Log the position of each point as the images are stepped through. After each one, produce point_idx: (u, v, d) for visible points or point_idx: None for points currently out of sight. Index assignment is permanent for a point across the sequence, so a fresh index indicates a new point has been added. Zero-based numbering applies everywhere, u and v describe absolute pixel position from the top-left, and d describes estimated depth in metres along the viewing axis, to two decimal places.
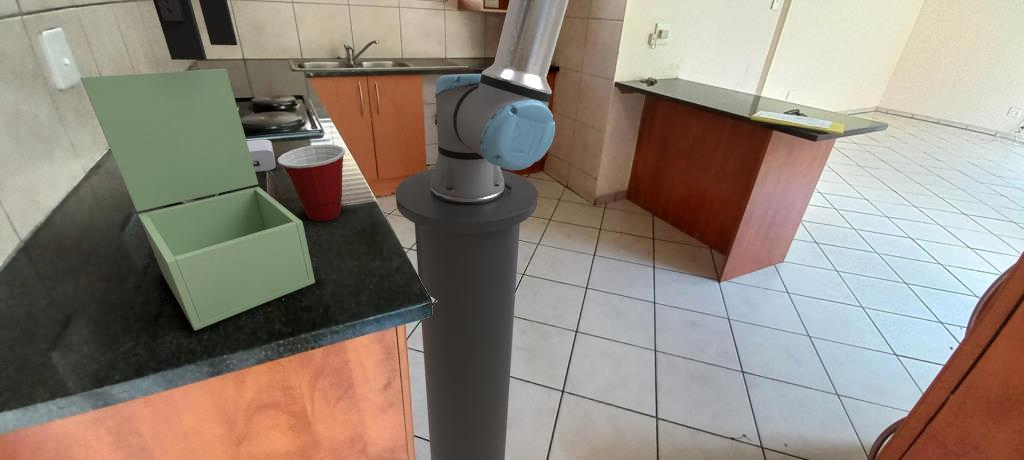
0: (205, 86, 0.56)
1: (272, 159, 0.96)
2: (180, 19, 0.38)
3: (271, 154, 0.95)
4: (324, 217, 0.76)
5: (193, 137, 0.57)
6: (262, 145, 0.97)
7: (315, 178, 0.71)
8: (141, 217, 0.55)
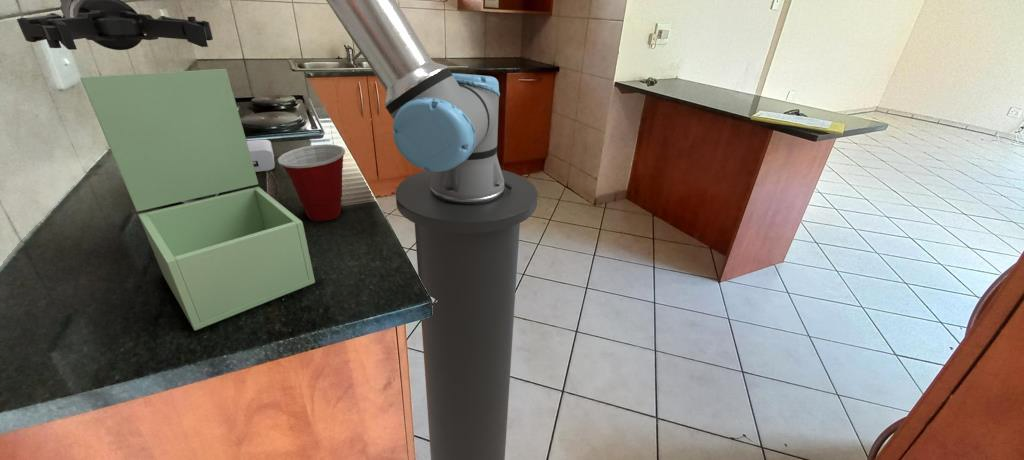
0: (205, 86, 0.56)
1: (271, 159, 0.96)
2: (45, 28, 0.51)
3: (270, 154, 0.95)
4: (324, 217, 0.76)
5: (193, 137, 0.57)
6: (261, 145, 0.97)
7: (315, 178, 0.71)
8: (141, 217, 0.55)
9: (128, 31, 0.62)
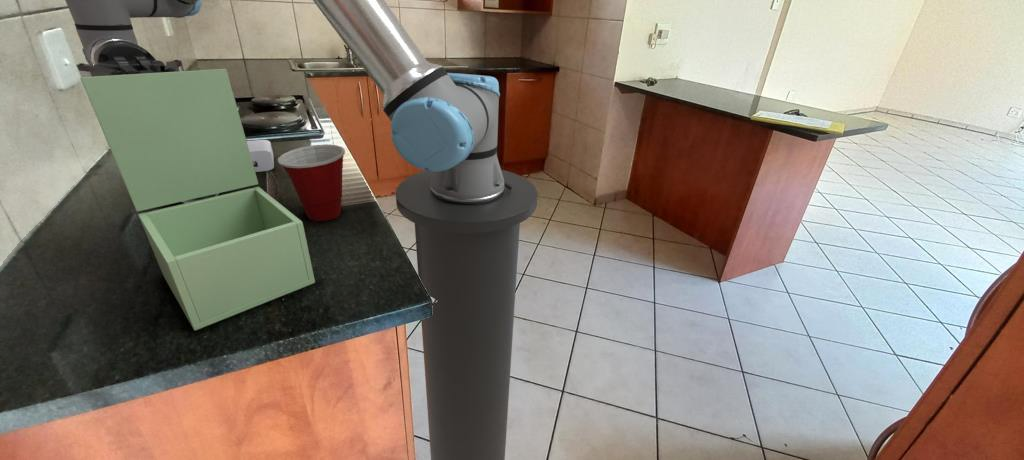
0: (205, 86, 0.56)
1: (270, 160, 0.96)
2: None
3: (269, 155, 0.95)
4: (324, 217, 0.76)
5: (193, 137, 0.57)
6: (260, 146, 0.97)
7: (315, 178, 0.71)
8: (141, 217, 0.55)
9: None
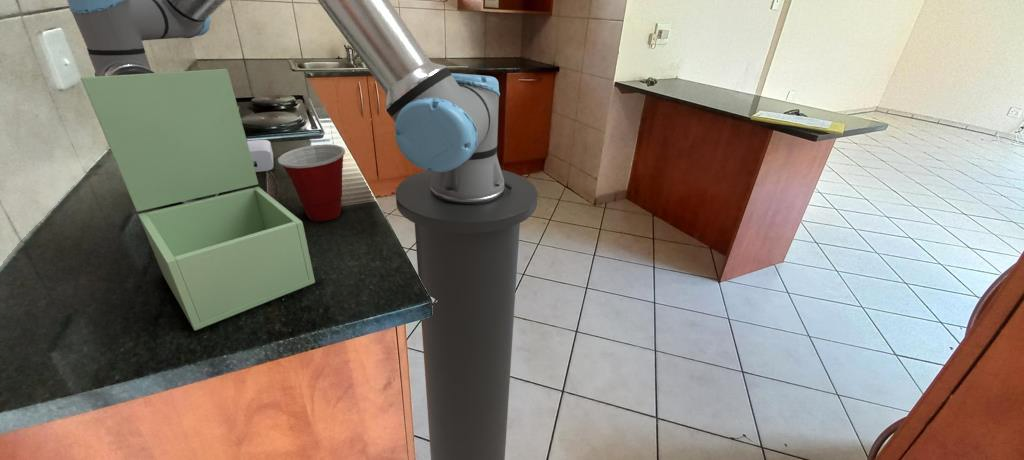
0: (206, 86, 0.56)
1: (270, 160, 0.96)
2: None
3: (269, 155, 0.95)
4: (324, 217, 0.76)
5: (194, 137, 0.57)
6: (260, 146, 0.97)
7: (315, 178, 0.71)
8: (141, 217, 0.55)
9: None
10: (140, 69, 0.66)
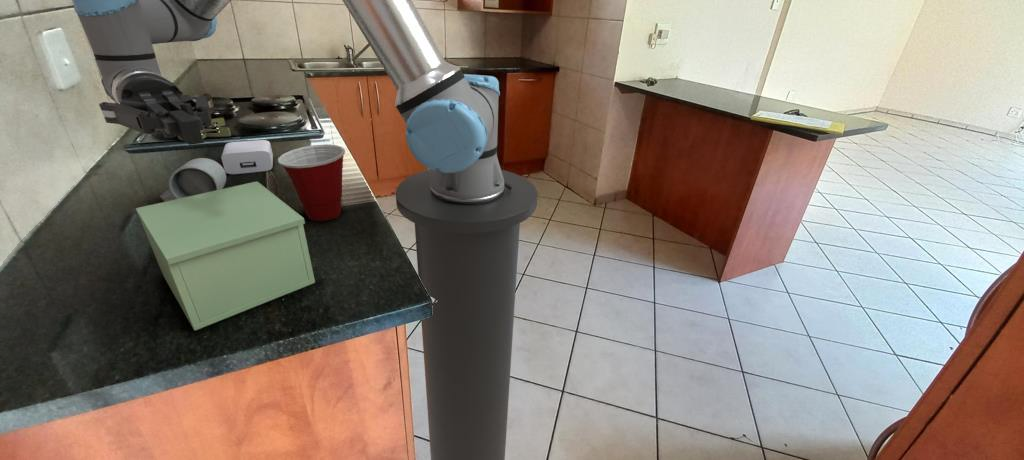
0: None
1: (269, 160, 0.96)
2: (166, 123, 0.51)
3: (268, 155, 0.95)
4: (324, 217, 0.76)
5: None
6: (259, 146, 0.97)
7: (315, 178, 0.71)
8: None
9: None
10: (152, 76, 0.61)
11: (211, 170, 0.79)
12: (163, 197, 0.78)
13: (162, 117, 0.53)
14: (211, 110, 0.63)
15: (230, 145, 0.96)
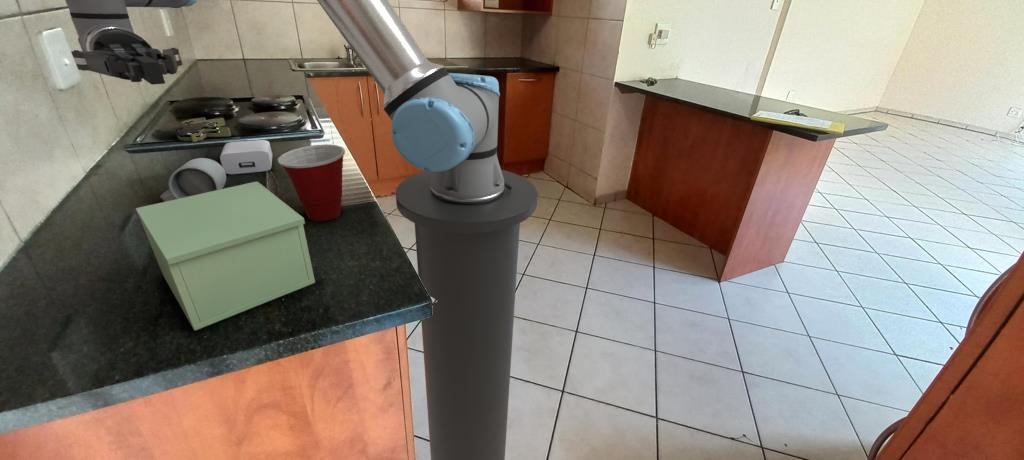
0: None
1: (268, 160, 0.95)
2: (130, 65, 0.56)
3: (267, 155, 0.95)
4: (324, 217, 0.76)
5: None
6: (258, 146, 0.96)
7: (315, 178, 0.71)
8: None
9: None
10: (122, 30, 0.66)
11: (211, 170, 0.79)
12: (163, 197, 0.78)
13: (128, 61, 0.58)
14: (178, 63, 0.68)
15: (229, 145, 0.96)
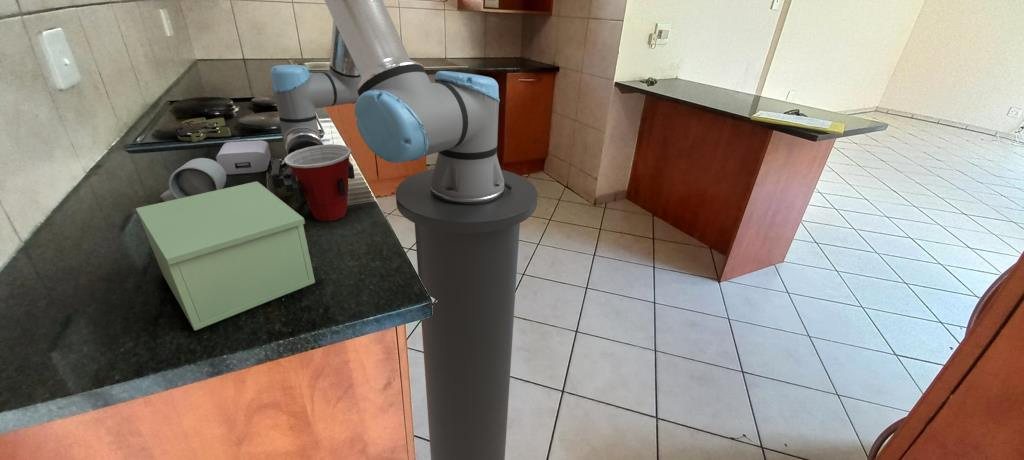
0: None
1: (264, 161, 0.95)
2: (285, 185, 0.72)
3: (263, 156, 0.94)
4: (330, 217, 0.76)
5: None
6: (255, 146, 0.96)
7: (322, 178, 0.71)
8: None
9: None
10: (308, 139, 0.85)
11: (211, 170, 0.79)
12: (163, 197, 0.78)
13: (285, 178, 0.74)
14: None
15: (227, 145, 0.96)
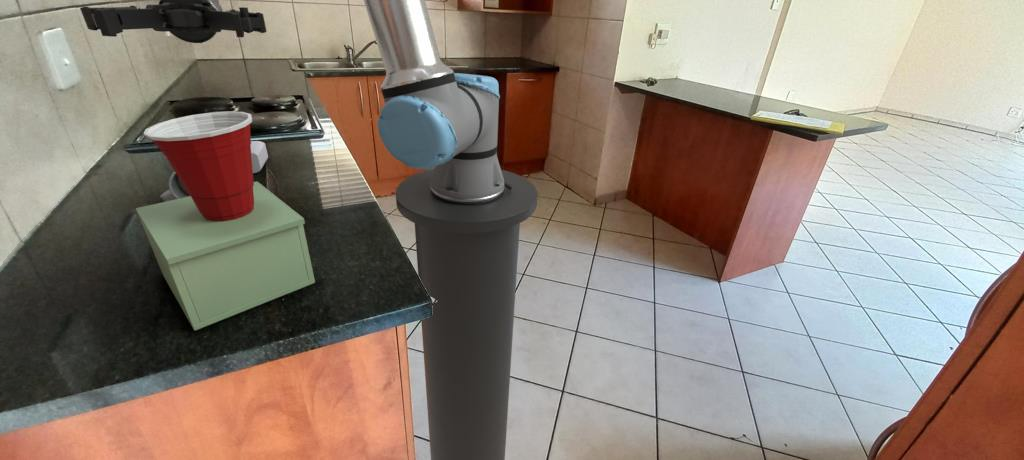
0: None
1: (257, 162, 0.94)
2: (92, 15, 0.51)
3: (256, 157, 0.93)
4: (225, 216, 0.53)
5: None
6: None
7: (200, 157, 0.47)
8: None
9: (192, 23, 0.62)
10: None
11: None
12: (163, 197, 0.78)
13: None
14: None
15: None
